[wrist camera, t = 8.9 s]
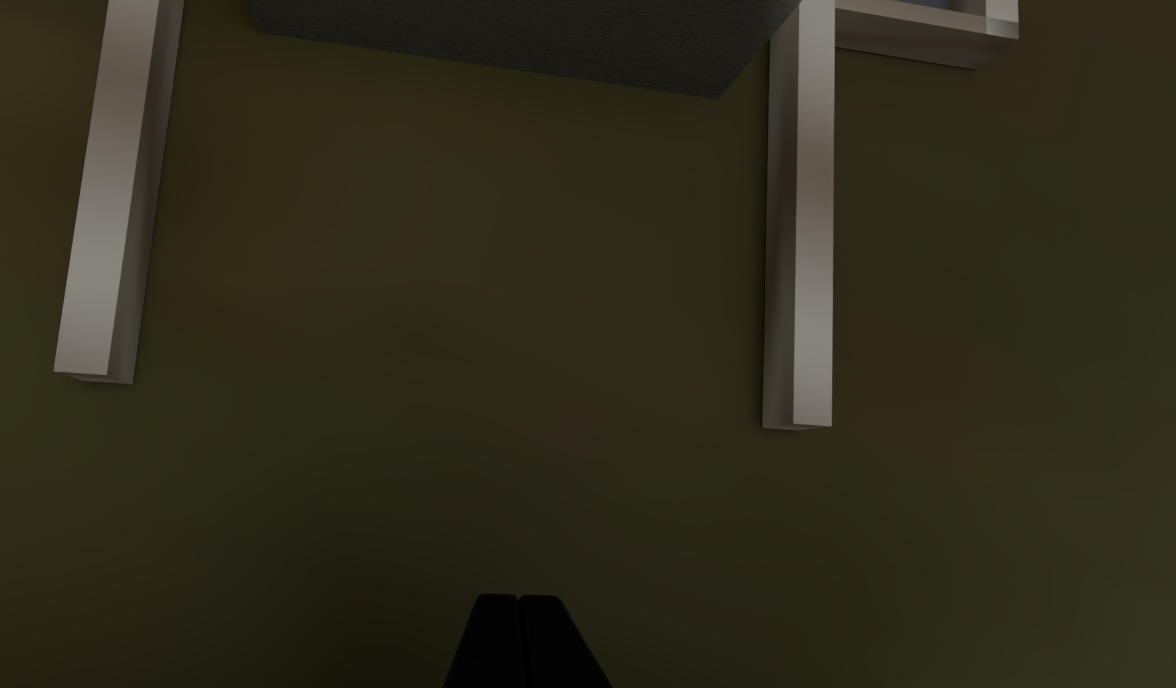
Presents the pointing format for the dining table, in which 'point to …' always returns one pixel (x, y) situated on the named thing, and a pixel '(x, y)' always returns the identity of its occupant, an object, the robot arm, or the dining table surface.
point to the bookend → (552, 35)
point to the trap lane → (794, 179)
